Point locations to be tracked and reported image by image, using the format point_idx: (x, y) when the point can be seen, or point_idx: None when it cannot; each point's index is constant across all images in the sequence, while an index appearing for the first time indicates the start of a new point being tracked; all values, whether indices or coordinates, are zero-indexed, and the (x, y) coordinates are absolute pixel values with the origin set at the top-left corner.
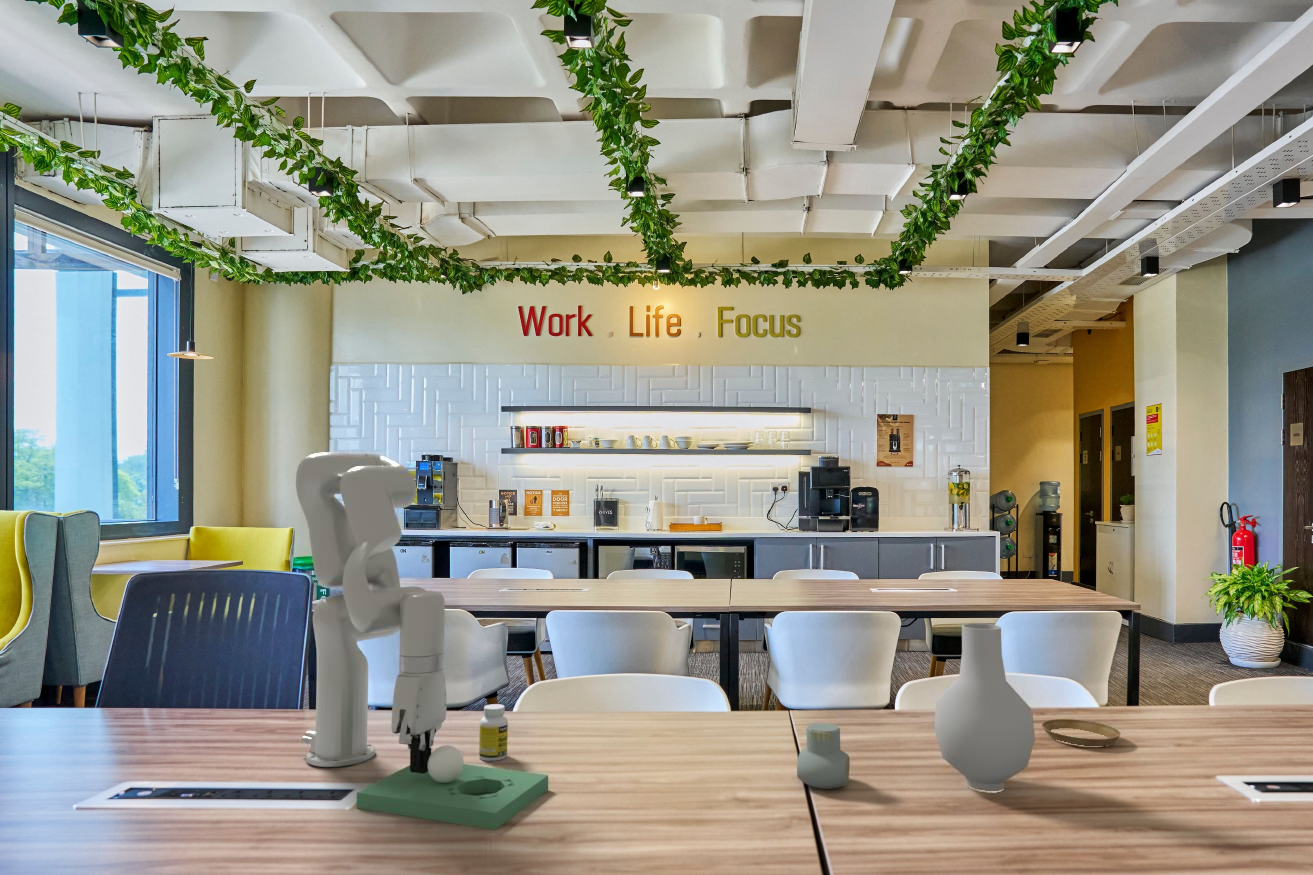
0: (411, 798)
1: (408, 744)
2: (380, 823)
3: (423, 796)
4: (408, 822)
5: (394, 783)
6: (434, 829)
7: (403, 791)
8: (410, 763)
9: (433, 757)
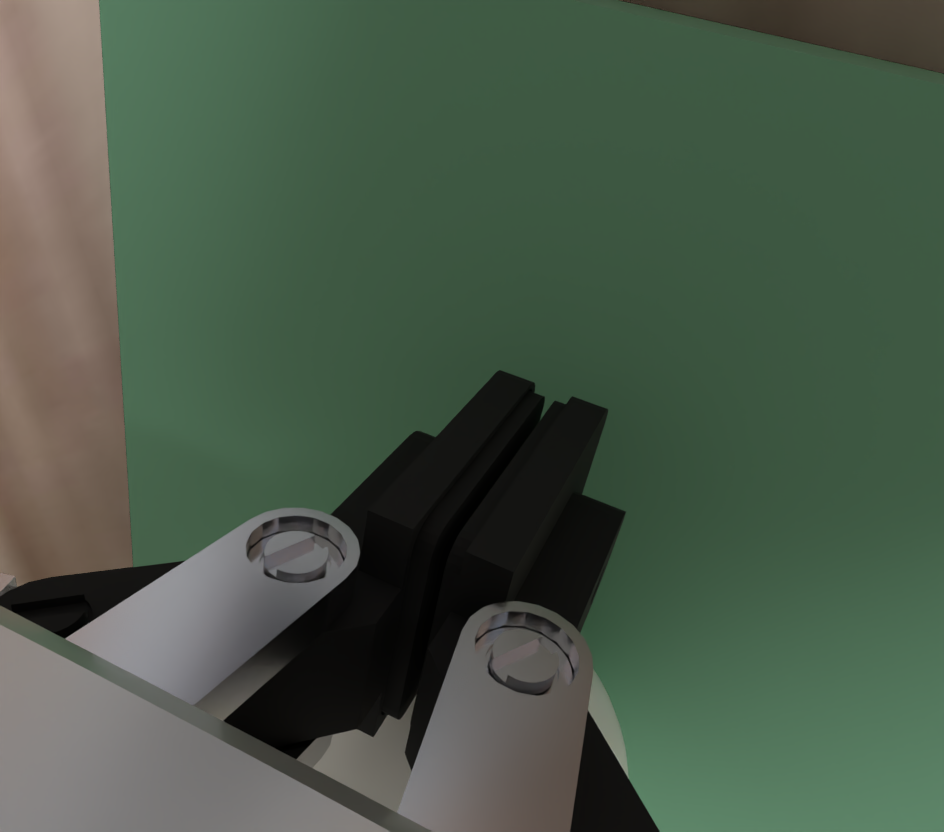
0: (157, 458)
1: (119, 585)
2: (68, 258)
3: (207, 531)
4: None
5: (392, 207)
6: (119, 564)
7: (248, 362)
8: (466, 408)
9: None
